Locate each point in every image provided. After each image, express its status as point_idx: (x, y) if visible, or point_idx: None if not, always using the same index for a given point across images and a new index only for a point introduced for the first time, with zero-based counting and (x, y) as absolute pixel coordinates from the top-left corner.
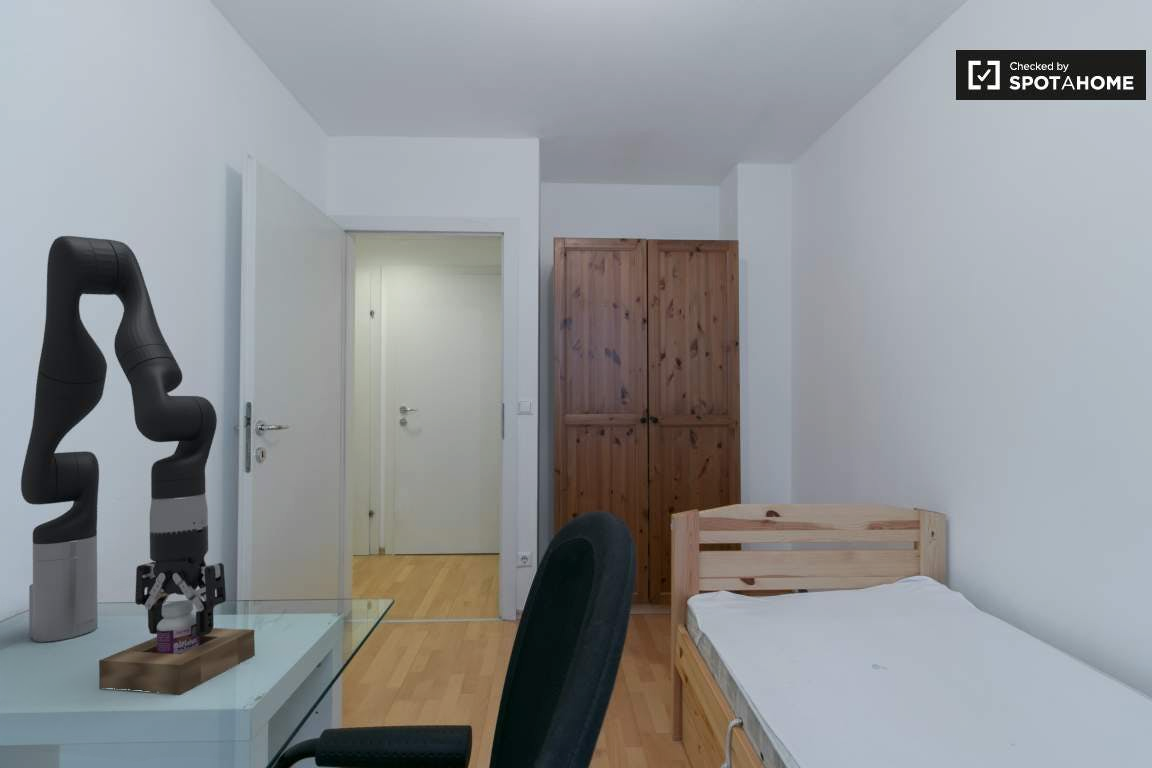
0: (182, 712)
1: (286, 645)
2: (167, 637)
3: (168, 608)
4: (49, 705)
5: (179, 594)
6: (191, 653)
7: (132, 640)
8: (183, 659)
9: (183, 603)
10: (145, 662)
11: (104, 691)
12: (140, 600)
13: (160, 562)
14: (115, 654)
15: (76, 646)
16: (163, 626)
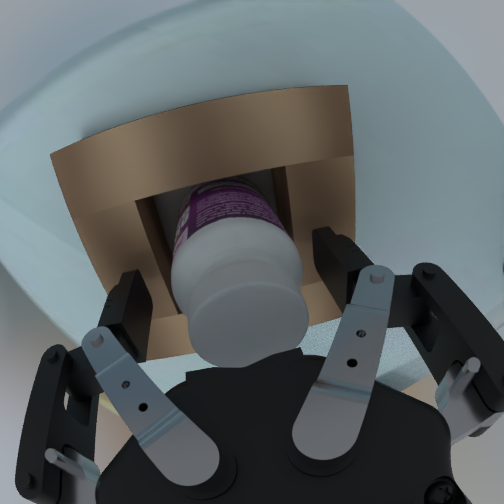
0: (8, 107)
1: (148, 360)
2: (203, 216)
3: (225, 289)
4: (332, 8)
5: (210, 368)
6: (110, 217)
7: (450, 270)
8: (80, 180)
9: (223, 344)
10: (169, 114)
11: (288, 79)
12: (421, 276)
13: (408, 497)
14: (345, 129)
15: (497, 226)
16: (225, 230)
